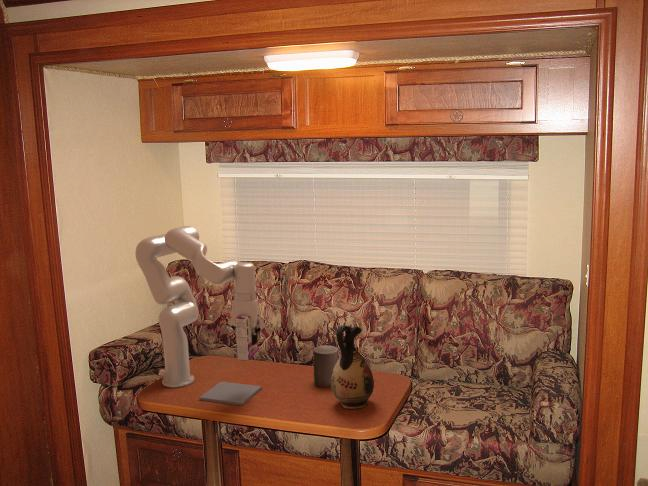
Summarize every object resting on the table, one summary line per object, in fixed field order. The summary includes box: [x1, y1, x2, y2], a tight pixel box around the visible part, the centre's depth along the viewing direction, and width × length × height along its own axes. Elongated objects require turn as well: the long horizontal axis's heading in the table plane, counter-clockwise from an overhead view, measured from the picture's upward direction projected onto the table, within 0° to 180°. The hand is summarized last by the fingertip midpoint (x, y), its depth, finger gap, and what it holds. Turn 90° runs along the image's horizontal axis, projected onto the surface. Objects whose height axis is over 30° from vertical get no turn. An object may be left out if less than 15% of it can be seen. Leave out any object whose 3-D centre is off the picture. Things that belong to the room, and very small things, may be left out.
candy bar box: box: [235, 316, 259, 362], centre depth 228 cm, size 11×5×16 cm, turn 169°
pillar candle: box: [312, 345, 339, 388], centre depth 240 cm, size 10×10×15 cm
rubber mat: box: [198, 381, 263, 406], centre depth 233 cm, size 18×16×1 cm
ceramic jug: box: [330, 324, 375, 409], centre depth 218 cm, size 17×15×30 cm
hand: (247, 342), depth 228 cm, fingers closed on candy bar box, 5 cm apart
